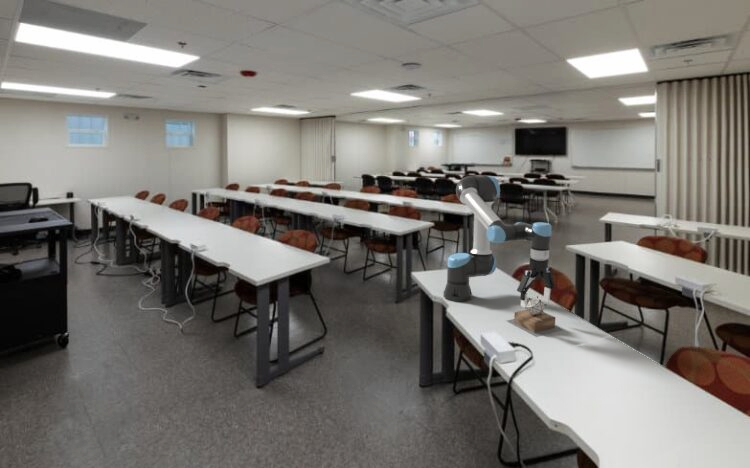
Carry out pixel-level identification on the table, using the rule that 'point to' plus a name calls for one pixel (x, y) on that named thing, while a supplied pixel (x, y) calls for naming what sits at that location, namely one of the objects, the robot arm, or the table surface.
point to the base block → (534, 321)
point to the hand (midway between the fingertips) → (534, 304)
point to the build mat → (537, 332)
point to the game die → (535, 306)
